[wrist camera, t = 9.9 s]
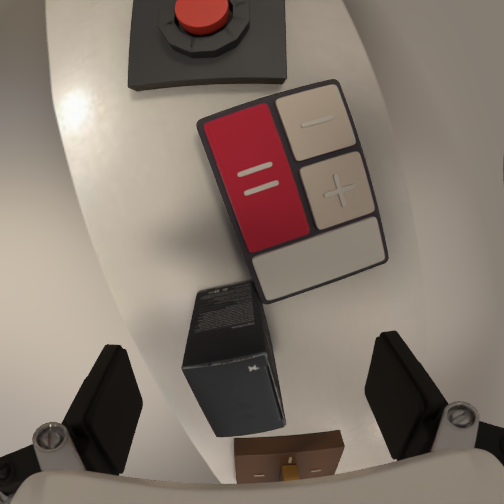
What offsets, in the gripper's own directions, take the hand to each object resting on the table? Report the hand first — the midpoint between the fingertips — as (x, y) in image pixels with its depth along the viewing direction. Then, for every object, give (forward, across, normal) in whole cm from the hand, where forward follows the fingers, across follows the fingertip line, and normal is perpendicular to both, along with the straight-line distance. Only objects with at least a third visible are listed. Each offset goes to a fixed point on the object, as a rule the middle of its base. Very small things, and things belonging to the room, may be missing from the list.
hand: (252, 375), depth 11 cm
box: (+17, +1, +8) cm, 19 cm away
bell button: (+13, +2, -18) cm, 23 cm away
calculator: (+17, -4, -4) cm, 18 cm away
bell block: (+17, +2, -18) cm, 25 cm away
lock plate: (+17, -4, +32) cm, 37 cm away
